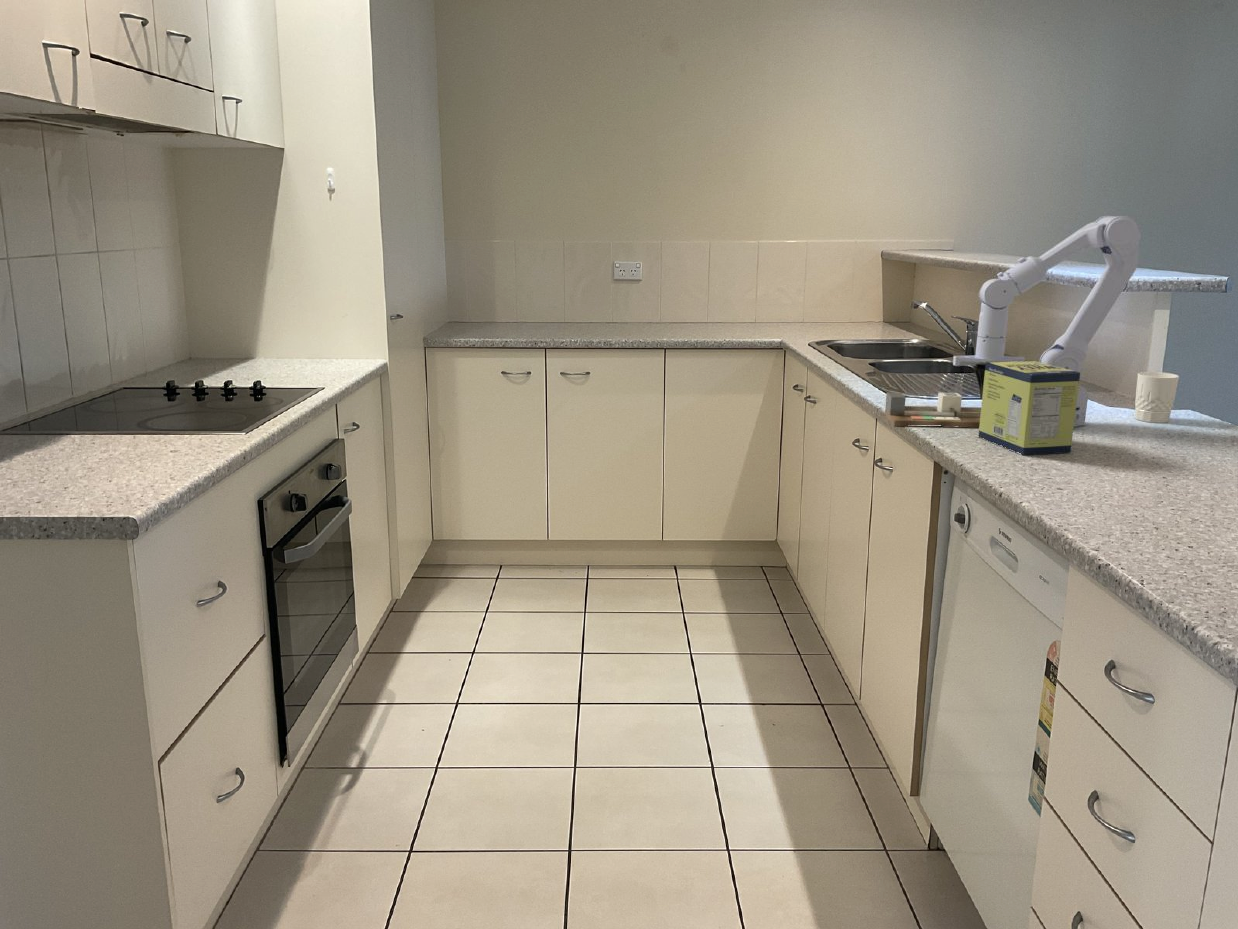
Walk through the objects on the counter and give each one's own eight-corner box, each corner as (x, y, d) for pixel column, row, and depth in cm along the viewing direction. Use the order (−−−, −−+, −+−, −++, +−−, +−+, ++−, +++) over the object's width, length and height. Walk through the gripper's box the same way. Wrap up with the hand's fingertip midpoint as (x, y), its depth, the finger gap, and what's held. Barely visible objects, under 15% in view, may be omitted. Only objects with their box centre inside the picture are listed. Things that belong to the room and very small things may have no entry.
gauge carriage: (955, 410, 213) (957, 392, 212) (964, 418, 206) (966, 399, 205) (936, 410, 214) (938, 391, 213) (945, 418, 206) (947, 398, 205)
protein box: (1022, 434, 198) (1031, 359, 194) (1072, 453, 184) (1082, 372, 180) (976, 437, 196) (984, 360, 192) (1022, 456, 181) (1032, 373, 177)
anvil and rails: (982, 411, 214) (983, 393, 213) (989, 417, 208) (991, 399, 207) (885, 409, 216) (886, 392, 215) (890, 415, 210) (891, 397, 209)
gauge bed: (986, 417, 214) (986, 411, 214) (1000, 428, 204) (1001, 422, 203) (884, 415, 216) (885, 409, 216) (894, 426, 205) (894, 420, 205)
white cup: (1133, 422, 210) (1140, 376, 208) (1129, 415, 217) (1135, 370, 215) (1175, 425, 208) (1182, 378, 205) (1168, 417, 215) (1175, 372, 212)
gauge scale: (957, 418, 208) (958, 416, 208) (961, 420, 205) (961, 419, 205) (910, 417, 208) (910, 415, 208) (912, 419, 206) (912, 418, 206)
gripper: (1020, 334, 210) (1013, 396, 214) (952, 333, 211) (945, 394, 215) (1031, 339, 203) (1023, 402, 207) (960, 337, 204) (953, 401, 208)
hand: (984, 399), depth 210 cm, fingers closed
